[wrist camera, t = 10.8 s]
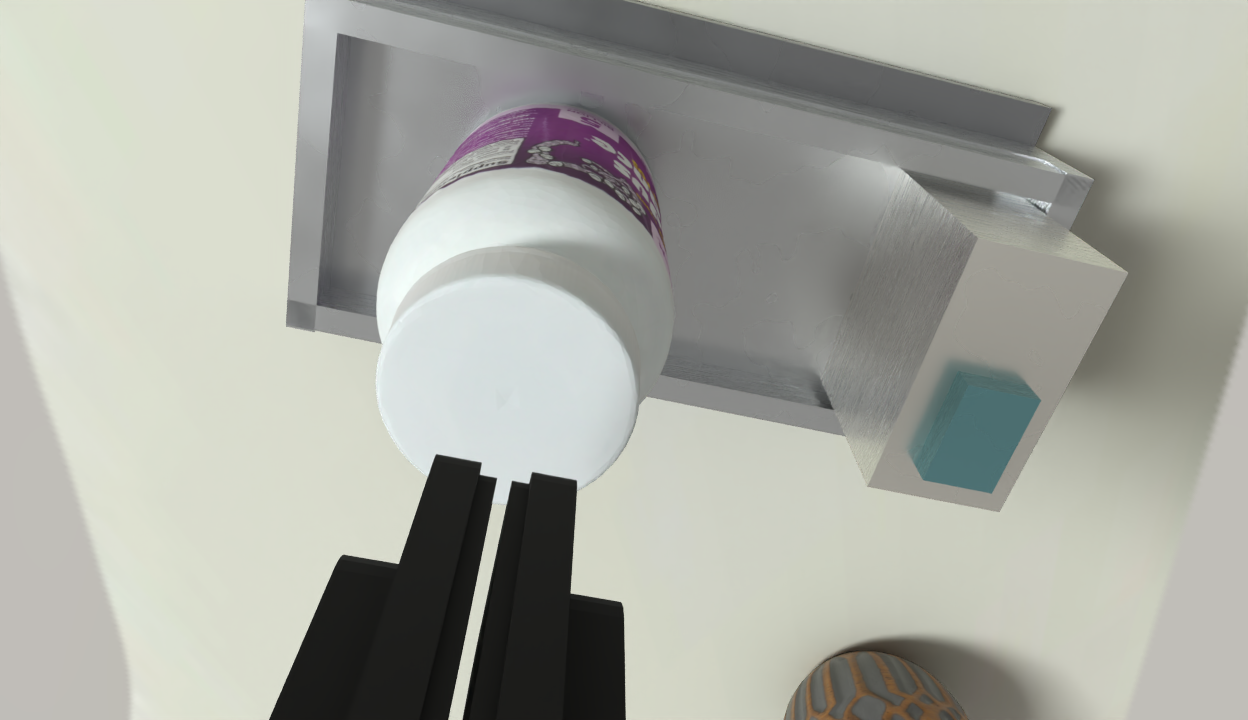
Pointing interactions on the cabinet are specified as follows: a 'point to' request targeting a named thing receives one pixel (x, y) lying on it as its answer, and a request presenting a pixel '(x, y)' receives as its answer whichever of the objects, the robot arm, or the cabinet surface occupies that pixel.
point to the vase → (872, 691)
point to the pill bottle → (526, 301)
